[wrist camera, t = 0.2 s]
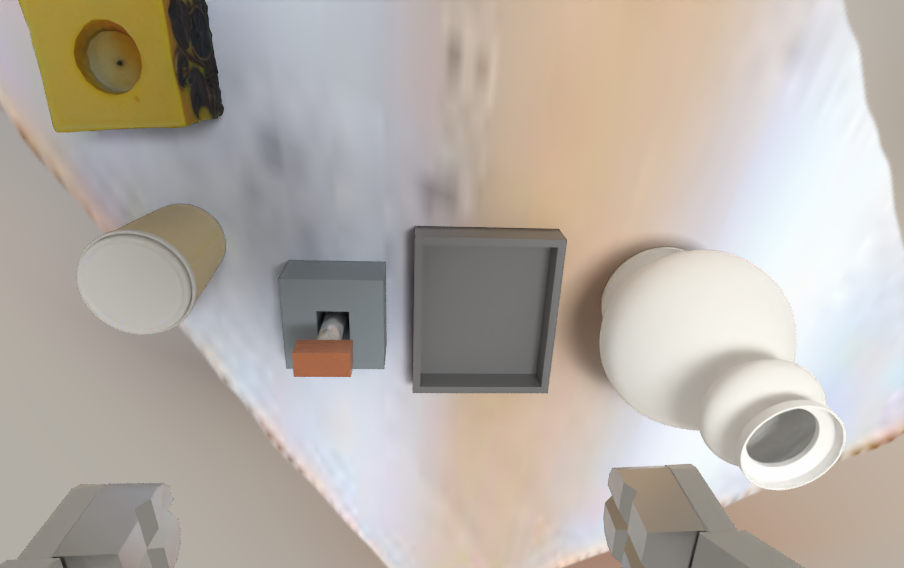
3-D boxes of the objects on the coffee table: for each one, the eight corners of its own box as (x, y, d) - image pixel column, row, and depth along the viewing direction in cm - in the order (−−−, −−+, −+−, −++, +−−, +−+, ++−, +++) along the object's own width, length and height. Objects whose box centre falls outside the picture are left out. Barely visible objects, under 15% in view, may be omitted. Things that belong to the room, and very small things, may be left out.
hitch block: (289, 260, 59) (278, 279, 54) (385, 261, 59) (383, 280, 55) (295, 344, 63) (286, 368, 58) (386, 344, 63) (384, 368, 59)
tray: (415, 226, 58) (414, 237, 55) (558, 229, 59) (567, 240, 56) (412, 375, 65) (412, 392, 62) (541, 375, 66) (547, 393, 63)
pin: (315, 293, 60) (291, 352, 49) (362, 294, 61) (350, 353, 49) (316, 313, 61) (293, 376, 50) (363, 314, 62) (350, 376, 50)
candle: (116, 119, 52) (52, 136, 43) (86, -3, 48) (8, -12, 39) (227, 116, 53) (188, 133, 44) (207, -5, 49) (158, -14, 40)
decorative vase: (663, 391, 68) (788, 571, 45) (545, 324, 63) (618, 485, 41) (769, 274, 62) (971, 412, 40) (648, 191, 58) (798, 292, 35)
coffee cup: (141, 275, 59) (77, 330, 48) (137, 188, 55) (66, 225, 44) (234, 287, 60) (192, 344, 49) (235, 202, 56) (191, 242, 45)
